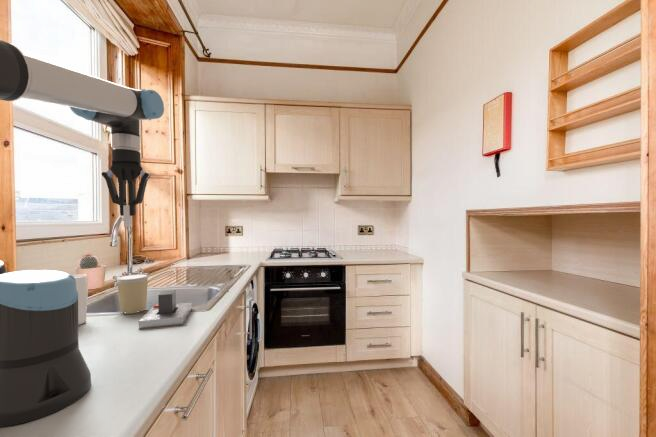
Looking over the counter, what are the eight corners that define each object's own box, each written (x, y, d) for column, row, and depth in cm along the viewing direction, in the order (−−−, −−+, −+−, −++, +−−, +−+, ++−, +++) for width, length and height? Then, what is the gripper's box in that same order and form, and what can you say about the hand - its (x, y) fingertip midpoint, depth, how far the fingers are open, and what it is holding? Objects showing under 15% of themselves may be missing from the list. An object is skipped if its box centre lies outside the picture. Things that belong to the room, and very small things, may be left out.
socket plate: (182, 324, 94) (182, 315, 94) (138, 329, 91) (138, 319, 91) (191, 309, 110) (191, 300, 110) (154, 312, 106) (154, 303, 106)
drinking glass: (56, 329, 92) (54, 279, 92) (69, 321, 99) (67, 275, 98) (82, 326, 94) (80, 277, 94) (93, 319, 100) (92, 273, 100)
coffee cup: (154, 306, 113) (153, 274, 113) (134, 315, 104) (133, 280, 104) (132, 305, 115) (131, 273, 114) (110, 314, 105) (109, 279, 105)
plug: (172, 318, 98) (172, 294, 98) (158, 320, 97) (158, 295, 97) (176, 313, 103) (175, 290, 103) (163, 315, 102) (162, 291, 102)
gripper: (153, 153, 100) (155, 225, 101) (107, 152, 97) (109, 226, 97) (145, 148, 93) (147, 226, 93) (96, 147, 89) (98, 227, 90)
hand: (128, 226), depth 95 cm, fingers closed
